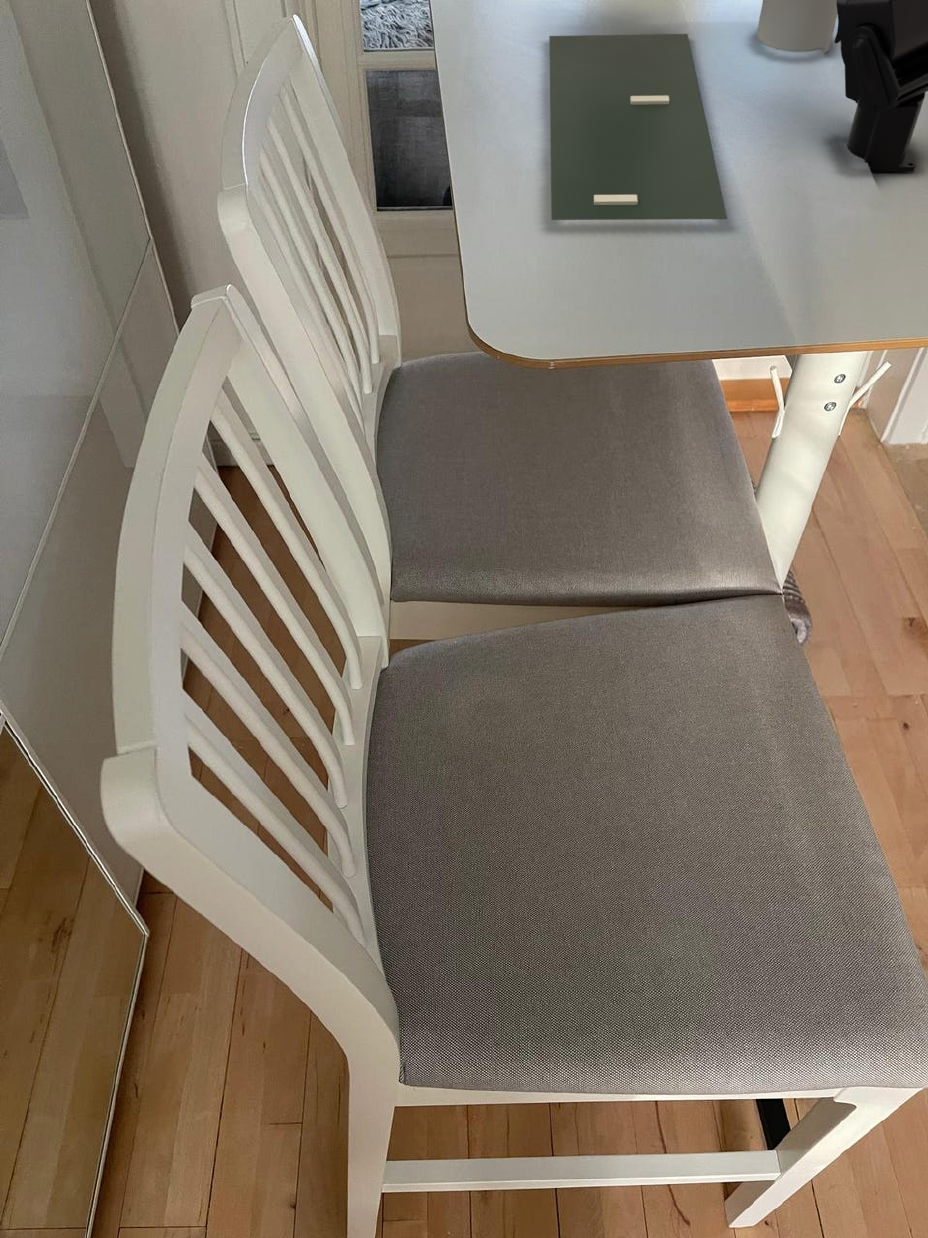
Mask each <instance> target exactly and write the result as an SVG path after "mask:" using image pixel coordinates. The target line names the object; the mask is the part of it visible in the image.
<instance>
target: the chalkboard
mask: <svg viewBox="0 0 928 1238" xmlns="http://www.w3.org/2000/svg"><path fill="white" fill-rule="evenodd" d="M688 35H689V34H688V33H655V34H654V33H651V34H650V33H649V34H648V33H647V34H593V35H592V34H588V35H586V34H585V35H583V34H582V35H549V36H548V37H549V40H548V41H549V117H550V119H549V121H550V122H549V123H550V124H549V125H550V128H549V131H550V207H551V208H550V213H551V214H550V218H551V221H616V220H617V221H618V220H619V221H620V220H621V221H623V220H624V221H626V220H628V221H631V220H632V221H633V220H636V221H637V220H642V221H643V220H645V221H647V220H649V221H650V220H728V216H727V211H726V207H725V203H724V198H723V193H722V189H721V184H720V179H719V175H718V170H717V166H716V161H715V156H714V152H713V147H712V142H711V137H710V133H709V132H710V131H709V128H708V124H707V119H706V114H705V110H704V106H703V100H702V96H701V90H700V86H699V81H698V76H697V72H696V68H695V67H696V66H695V63H694V57H693V53H692V48H691V45H690V39H689V36H688ZM631 96H669V104H655V105H631V101H630V97H631ZM594 195H637V200H638V203H637V205H594Z"/></svg>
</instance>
